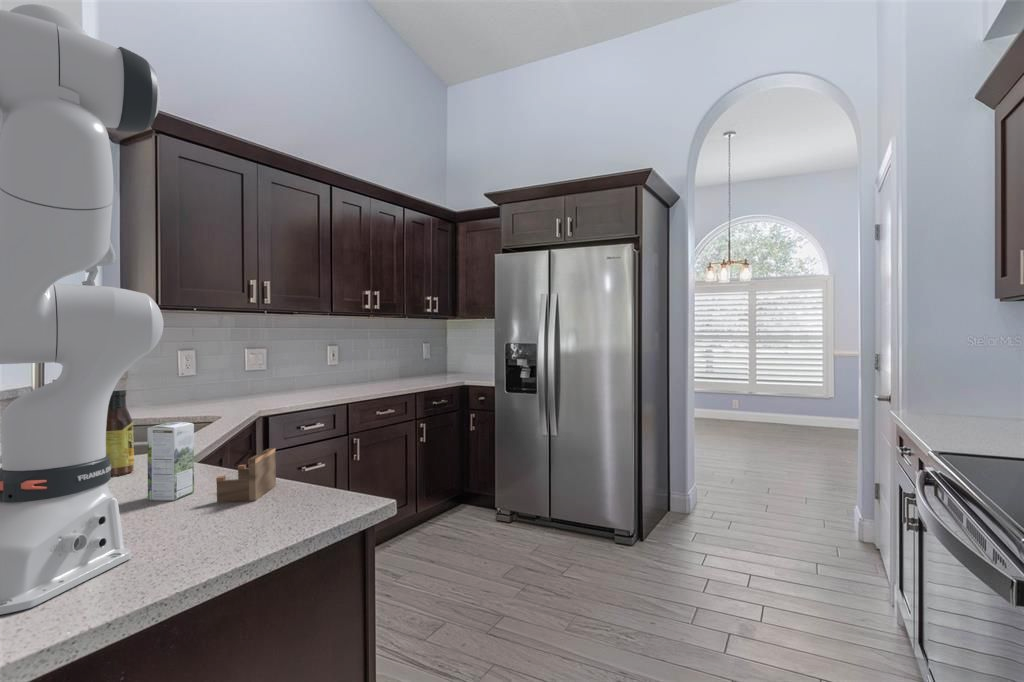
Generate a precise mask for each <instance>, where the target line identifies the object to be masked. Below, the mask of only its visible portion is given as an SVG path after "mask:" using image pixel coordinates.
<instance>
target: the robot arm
mask: <svg viewBox="0 0 1024 682" xmlns="http://www.w3.org/2000/svg"><path fill="white" fill-rule="evenodd" d="M161 94H162V93H161V87H160V85H159V81H158V78H157V73H156V71H155V69H154V68H153V67H152V65H151V64H150V62H148V60H147V59H146V58H144V57H142V56H141V55H139V54H137V53H135V52H133V51H131V50H129V49H127V48H125V47H122V46H118V47H116V46H113V45H111V44H109V43H106V42H104V41H101V40H99V39H96V38H94V37H91V36H88V33H87V32H86V31H85V30H84V29H83V27H82V25H80V24H79V23H77V22H76V21H75V20H74V19H72V18H71V17H70V16H68V14H65V12H64V13H63V12H62V11H60V10H57V9H56V8H52V7H49V6H46V5H42V4H33V3H31V4H29V3H28V4H21V5H18V6H15V7H13V8H11V9H10V10H5V9H4V10H3V9H0V365H11V364H12V365H13V364H14V365H15V364H16V365H17V364H43V363H44V364H45V363H55V364H60V365H61V366H62V367H61V372H60V374H59V376H58V377H57V378H56V379H55V380H54V381H52V382H49V383H48V384H45V385H42V386H39V387H38V388H36V389H33V390H31V391H29V392H27V393H25V394H23V395H21V396H19V397H17V398H15V399H14V400H12V401H11V402H10V403H9V404H8V405H7V406H6V407H5V408H4V410H3V412H2V414H1V417H0V441H1V442H0V443H1V444H0V445H1V446H0V448H1V450H0V451H1V467H0V615H5V614H10V613H16V612H19V611H23V610H28V609H31V608H34V607H36V606H38V605H40V604H42V603H44V602H45V601H48V600H49V599H52V598H54V597H56V596H58V595H60V594H62V593H63V592H66V591H68V590H70V589H72V588H74V587H76V586H79V585H80V584H82V583H83V582H87V581H88V580H89V579H92V578H94V577H96V576H98V575H100V574H102V573H104V572H106V571H108V570H110V569H112V568H114V567H117V566H118V565H120V564H122V563H124V562H126V561H128V560H130V559H131V558H132V557H133V555H132V550H131V549H130V548H128V547H125V546H124V539H123V531H122V524H121V523H122V522H121V516H120V507H119V502H118V500H117V498H116V497H115V496H114V495H113V492H111V489H110V488H109V484H108V482H109V481H110V480H111V478H112V476H111V472H110V470H111V464H110V457H109V456H108V455H106V424H107V413H108V406H109V401H110V398H111V395H112V392H113V390H115V388H116V386H117V384H118V382H119V381H120V380H121V378H122V377H123V376H124V374H125V373H126V372H127V371H128V370H129V369H130V368H131V367H132V366H133V365H134V364H135V363H137V361H139V360H141V358H143V357H145V356H147V355H148V354H149V353H150V352H152V351H153V350H154V348H155V347H156V346H157V345H158V343H159V342H160V340H161V338H162V336H163V333H164V317H163V314H162V311H161V309H160V307H159V306H158V304H157V302H156V301H155V300H154V299H153V298H152V297H151V296H150V295H149V294H147V293H144V292H139V291H135V290H131V289H125V288H119V287H116V286H115V287H114V286H109V285H108V286H107V285H96V282H95V280H96V278H97V275H98V273H99V269H98V267H102V266H110V265H113V264H114V263H115V261H116V260H117V259H116V252H115V250H114V247H113V244H112V242H111V233H112V232H111V228H112V219H113V217H112V216H113V205H114V188H115V187H114V186H115V185H114V165H113V164H114V163H113V157H112V156H113V155H112V149H111V142H110V138H109V137H110V136H109V133H108V129H109V128H110V129H115V130H116V131H117V132H122V133H123V132H124V133H125V132H126V133H127V132H128V133H142V132H145V131H146V130H149V128H151V127H152V126H153V125H154V122H155V118H157V116H158V114H159V111H160V108H161V101H162V95H161ZM107 128H108V129H107ZM83 271H85V273H88V276H87V278H86V280H84V281H81V283H82V284H66V283H65V284H63V283H56V282H58V281H60V280H61V279H63V278H65V277H67V276H70V275H74V274H77V273H80V272H83Z"/></svg>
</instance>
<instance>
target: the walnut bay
mask: <svg viewBox="0 0 1024 682" xmlns="http://www.w3.org/2000/svg"><path fill="white" fill-rule="evenodd" d="M247 460H248V461H247V464H248V467H247V464H239V465H238V466H237V479H234V478H233V479H227V476H225V475H220V476H217V477H216V502H217V503H228V502H229V503H233V502H234V501H236V502H257V501H258V500H259V499H260V498H262V497H263V496H264V495H266V494H267V493H268V492H270V491H271V490H272V489H274V488H275V487H276V486H277V479H276V478H277V474H276V473H277V471H276V470H277V469H276V467H277V466H276V447H269V448H267V449H265V450H263V451H261V452H259V453H257V454H256V455H254V456H251V457H250V458H248V459H247Z"/></svg>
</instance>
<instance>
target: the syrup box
mask: <svg viewBox="0 0 1024 682" xmlns="http://www.w3.org/2000/svg"><path fill="white" fill-rule="evenodd" d="M194 492H195V424H194V423H193V422H187V421H186V422H185V421H174V422H165V423H161V424H158V425H154V426H149V427H147V500H148V501H165V502H166V501H176V500H178V499H181V498H184V497H187V496H188V495H191V494H193V493H194Z"/></svg>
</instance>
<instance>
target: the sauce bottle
mask: <svg viewBox="0 0 1024 682" xmlns="http://www.w3.org/2000/svg"><path fill="white" fill-rule="evenodd" d="M126 399H127V389H125V388H123V389H114V390H113V392H112V395H111V398H110V401H109V406H108V413H107V424H106V455H108V456H109V457H110V464H111V470H110V472H111V477H114V476H121V475H127V474H129V473H132V472H133V471H134V469H135V468H134V466H135V449H134V448H135V442H134V441H135V440H134V421H133V419H132V416H131V414H130V412H129V410H128V408H127V404H126V403H127V401H126Z"/></svg>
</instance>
